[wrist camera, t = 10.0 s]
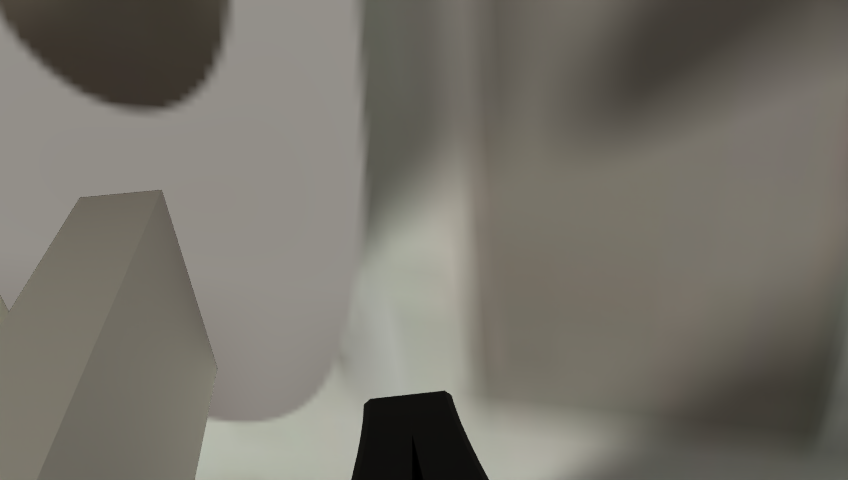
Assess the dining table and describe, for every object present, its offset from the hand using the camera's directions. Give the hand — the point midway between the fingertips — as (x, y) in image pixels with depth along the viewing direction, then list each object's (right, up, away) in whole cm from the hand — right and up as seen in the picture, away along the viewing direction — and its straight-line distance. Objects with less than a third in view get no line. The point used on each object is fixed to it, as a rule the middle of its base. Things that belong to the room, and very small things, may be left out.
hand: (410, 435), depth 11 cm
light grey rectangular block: (-6, +2, +4) cm, 7 cm away
